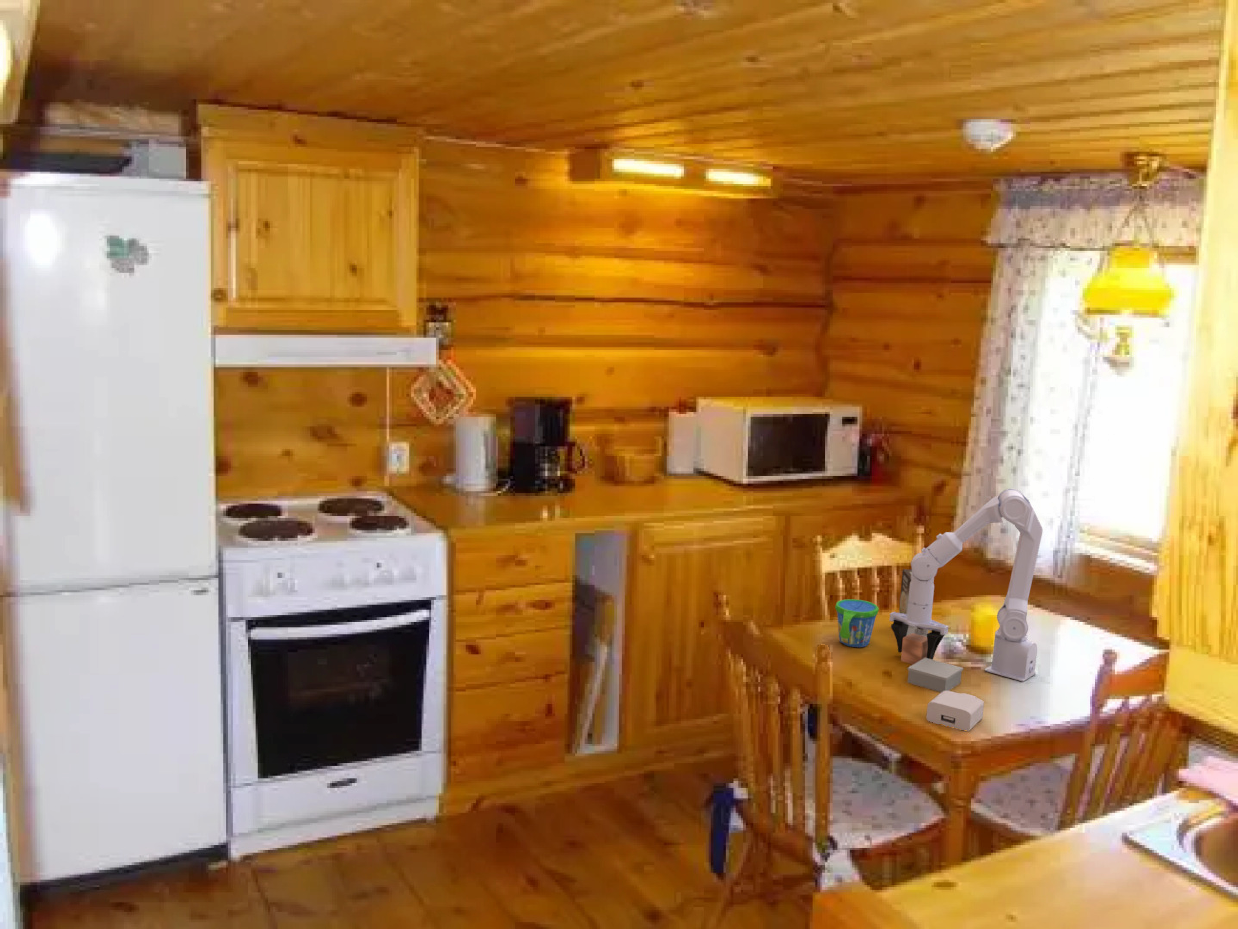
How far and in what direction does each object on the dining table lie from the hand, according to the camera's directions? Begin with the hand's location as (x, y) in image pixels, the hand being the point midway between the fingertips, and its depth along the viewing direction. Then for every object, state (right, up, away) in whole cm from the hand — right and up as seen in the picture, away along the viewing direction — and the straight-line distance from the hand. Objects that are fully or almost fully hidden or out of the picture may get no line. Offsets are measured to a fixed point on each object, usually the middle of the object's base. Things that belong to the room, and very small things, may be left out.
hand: (915, 655), depth 272 cm
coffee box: (+5, +2, +22) cm, 23 cm away
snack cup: (-13, +1, +11) cm, 17 cm away
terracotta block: (0, -1, 0) cm, 2 cm away
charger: (+1, -8, -32) cm, 33 cm away
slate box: (+1, -4, -14) cm, 14 cm away
